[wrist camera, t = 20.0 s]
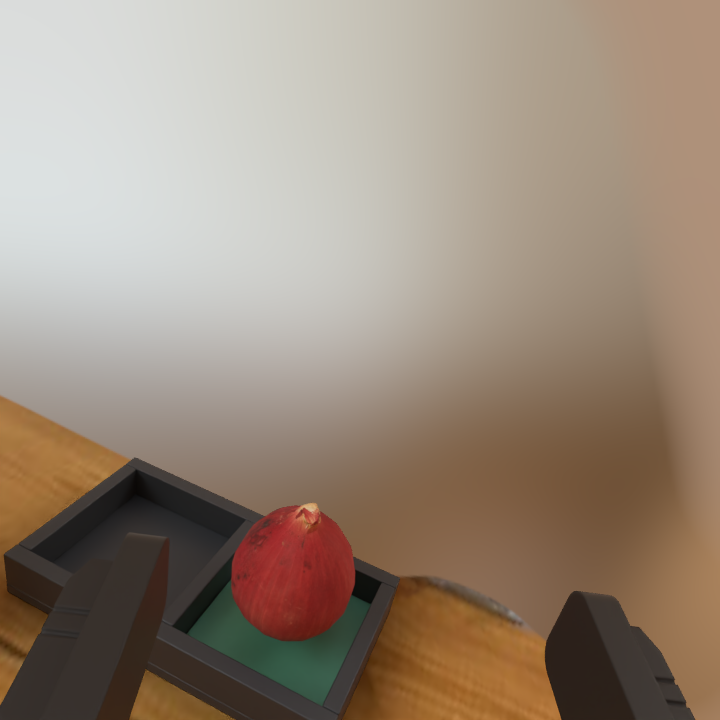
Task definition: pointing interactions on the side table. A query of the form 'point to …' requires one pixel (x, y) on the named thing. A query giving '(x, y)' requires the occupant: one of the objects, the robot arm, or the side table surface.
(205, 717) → the side table surface
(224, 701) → the tray
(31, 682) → the robot arm
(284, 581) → the onion
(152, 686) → the side table surface
